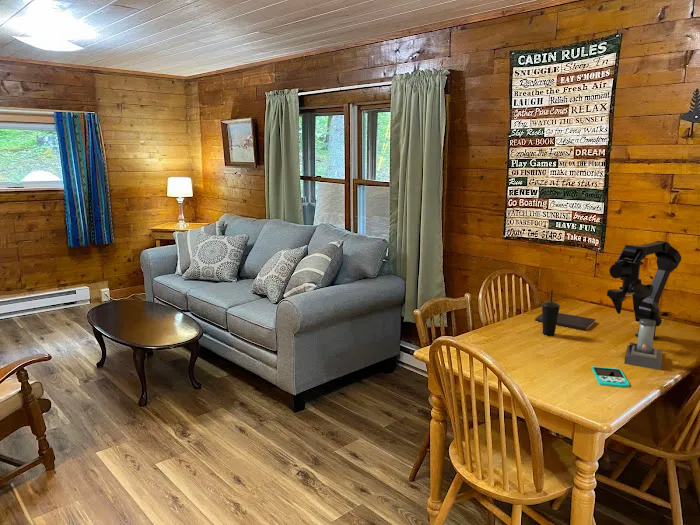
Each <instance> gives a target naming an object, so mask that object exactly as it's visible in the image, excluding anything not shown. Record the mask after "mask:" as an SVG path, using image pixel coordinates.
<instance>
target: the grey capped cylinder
mask: <svg viewBox="0 0 700 525" xmlns="http://www.w3.org/2000/svg"><path fill="white" fill-rule="evenodd" d="M639 323H640V326H638V329H639V334H638V333H637V334H638V336H637V342H638V343H636V344H637V352H641V353H648V354H651V353H652V345H653V346H654V339H653V337H654V329H655V325H656V321H654V320H650V319H640V321H639V322H638V324H639Z"/></svg>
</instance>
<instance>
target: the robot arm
mask: <svg viewBox="0 0 700 525" xmlns="http://www.w3.org/2000/svg"><path fill="white" fill-rule="evenodd" d="M653 254H654V255H655V257H656V262H655V263H656V267H657V269H656V272H655V274H654V276H653V280H652V282H651V284H648V283H647V284H643V283H642V279H641V278H640V271H641V270H640V269H641V266H642V265H644V262H643V261H642V260H644V259H646V257H647V256H650V255H653ZM681 261H682V255H681V253H680V252H679V251H678V250H677V248H675V247H673V246H672V245H671V243H669V242H668V241H661V240H655V241H654V242H650V243H649V242H648V243H645V244H640V245H636V244H627V245H624V247H623V249H622V250H621V252H620V254H619V256H618V257H617V259H616V260H615V261H614V264H612V265H611V266H610V268H609V274H610V276H611V277H612V278H613V279H620V281H622V286H619V289H617V288H613V289H612V288H611V289H608V290H607V292H606V296H607V297H608V298H610V300H611V301H612V303H613V306H614V308H615V310H616V313H617V314H619V315H620V314H621V311H622V306H623V303H624V302H625V300H626V299H625V298H626V296H631V295H632V296H631V297H632V305H633V312H634V318H635V322H638V324H639V326H640V323H639V321H640V319H650V320H654V321H656V325H655V329H654V337H653V340H654V339H658V338H659V337H658V336H657V335H656V331H657V330H656V329H657V327H659V326H661V325H662V321H663V320H662V318H661V316H660V315H659V313H660V307H659V300H660V298H661V296H662V294H663V291H664V289H665V287H666V284H667V281H668V279H669V276H670V274H671V273H672V272H673V271H674V270H676V269H677V268H678V266H679V265H680V263H681ZM639 326H638V327H639ZM637 330H638V332H637V333H635V334H634V336H636V337H638V334H639V328H637Z"/></svg>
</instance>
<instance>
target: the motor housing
mask: <svg viewBox="0 0 700 525" xmlns="http://www.w3.org/2000/svg"><path fill="white" fill-rule="evenodd" d="M637 343H638V341H637ZM637 343H634V342H629V344H627V346H626V350H625V354H624V362H623V363H624V364H626V365H631V366H636V367H643V368H648V369H652V370H653V369H655V370H660V371H661V370H662V363H663V350H662V349H661V350H660V349H657V348H654V344H653V345H652V353H651V354H648V353H641V352H637Z"/></svg>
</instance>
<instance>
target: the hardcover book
mask: <svg viewBox="0 0 700 525" xmlns="http://www.w3.org/2000/svg"><path fill="white" fill-rule="evenodd" d="M535 321H538V322H537V323H540V322H542V313H540V314H539V315H537V316H536V317H535V319H534V322H535ZM595 321H596V318H590V317H585V316H580V315H575V314H574V315H573V314H568V313H562V312H558V318H557V323H556V325H557V326H556V327H561V326H562V327H561V328H567V327H568V328H567V329H572V328H573V329H574V330H578V331H583V332H586V331H587V330H588V329H589V328H591V327H592V326H593V325H594V324H595V323H596V322H595ZM573 329H572V330H573Z"/></svg>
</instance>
